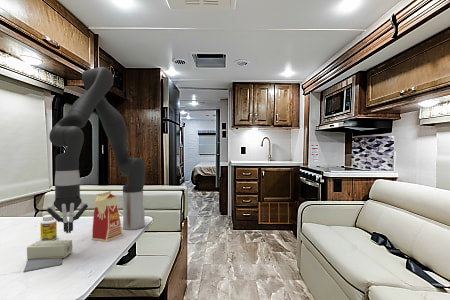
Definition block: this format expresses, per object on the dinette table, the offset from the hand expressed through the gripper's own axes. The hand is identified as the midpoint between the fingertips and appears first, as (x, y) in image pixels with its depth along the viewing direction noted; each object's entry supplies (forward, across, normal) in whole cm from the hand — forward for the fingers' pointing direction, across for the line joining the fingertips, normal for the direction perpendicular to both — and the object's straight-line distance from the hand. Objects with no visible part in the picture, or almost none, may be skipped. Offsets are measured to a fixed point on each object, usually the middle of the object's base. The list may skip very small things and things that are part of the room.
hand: (68, 232), depth 94 cm
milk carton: (+9, -14, -15) cm, 22 cm away
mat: (+8, +7, 0) cm, 11 cm away
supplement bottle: (+9, +7, -24) cm, 26 cm away
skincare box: (+6, 0, -1) cm, 6 cm away
